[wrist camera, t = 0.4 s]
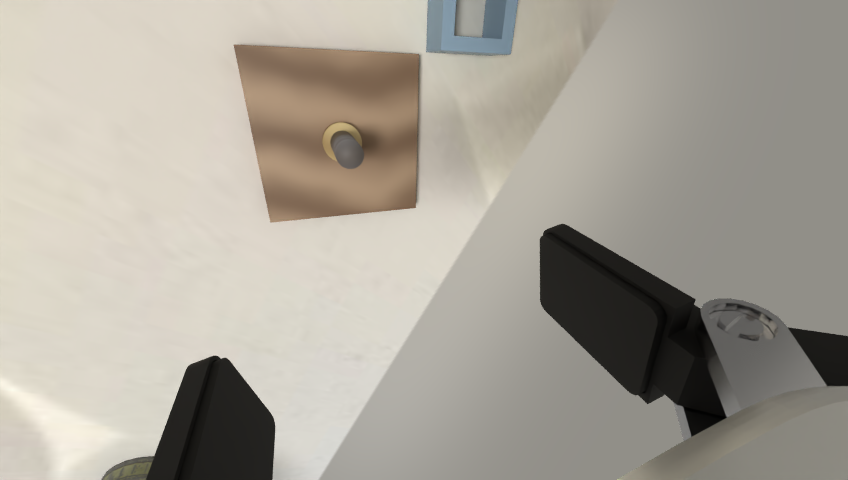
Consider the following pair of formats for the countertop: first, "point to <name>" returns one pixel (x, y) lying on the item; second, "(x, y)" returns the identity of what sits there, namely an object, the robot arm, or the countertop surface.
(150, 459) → the thermos
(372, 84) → the post board
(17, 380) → the countertop surface
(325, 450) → the countertop surface
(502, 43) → the slate ring
